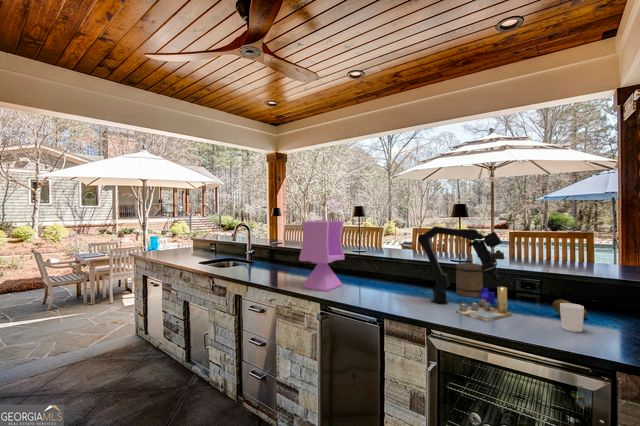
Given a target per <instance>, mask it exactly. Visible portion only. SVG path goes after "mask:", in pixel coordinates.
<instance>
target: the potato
mask: <svg viewBox="0 0 640 426" xmlns="http://www.w3.org/2000/svg"><path fill="white" fill-rule="evenodd" d="M560 303H571V302H570V301H568V300H564V299H560V298H559V299H555V300H554V301H553V302H552V307H553V310H554V311H555V312H557V313H558V314H560ZM560 315H561V314H560ZM587 317H588V312H587V310H586V309H585V308H584V317H583V319H585V318H587Z"/></svg>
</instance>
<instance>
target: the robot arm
mask: <svg viewBox="0 0 640 426" xmlns="http://www.w3.org/2000/svg"><path fill="white" fill-rule="evenodd" d="M479 232H480V231H478V230H477V229H474V228H468V229H467V228H466V229H465V228H464V229H463V228H462V229H460V228H459V229H458V228H453V227H451V228H450V227H443V226H439V225H438V226H437V225H436V226H433V227H432V228H431V229H430V230H428V231H426V232H425V233H422V234H419V235H418V238H417V241H418V243H419V244H420V246H421V247H422V249H423V250H424V251H425V254H426V256H427V258H428V261H429V263H430V266H431V268H432V270H433V273H434V278H435V280H434V281H435V284H436V285H434V286H433V287H432V289H431V290H432V300H430V301H431V302H432V303H435V304H439V305H441V304H442V305H443V304H448V303H449V301H448V300H447V291H445V290H447V288H448V287H449V286H450V283H451V282H450V281H451V279H450V278H449V275H448V273H444V271H443V269H442V268H441V265H440V263H439V261H438V259H437V255H436V254H435V251H434V249H433V241H432V238H434V237H435V236H436V235H438V234H440V235H445V236H454V237H460V238H463V239H466V240H469V243H468V245H467V246H468V248H470V247H473V249H474V251H475V253H476V256H477V258H478V259H479V260H480V262H481V264H480V265H482V266H481V268H482V270H483V271H482V272H483V273H485V274H486V275H488V276H489V277H490V278H492V280H494V281H495V282H499V278H500V275H499V272H498V268H497V265H498V260H505V254H504V252H503V251H501V250H496V251H495V252H491V250H489V249H488V247H489V248H495V247H497V246H499V245H501V244H503V242H502V240H501V238H500V236H499V235H498V234H497V233H496V231H493V232H491V233H489V234H487V235H484V234H482V233H481V232H480V233H479ZM479 240H480V241H479Z"/></svg>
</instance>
